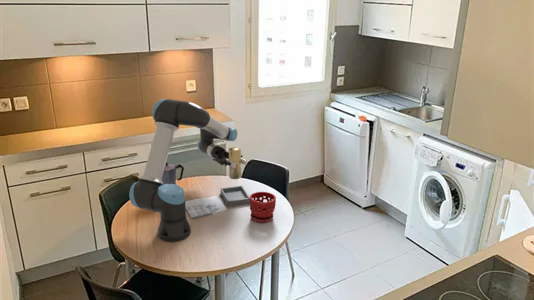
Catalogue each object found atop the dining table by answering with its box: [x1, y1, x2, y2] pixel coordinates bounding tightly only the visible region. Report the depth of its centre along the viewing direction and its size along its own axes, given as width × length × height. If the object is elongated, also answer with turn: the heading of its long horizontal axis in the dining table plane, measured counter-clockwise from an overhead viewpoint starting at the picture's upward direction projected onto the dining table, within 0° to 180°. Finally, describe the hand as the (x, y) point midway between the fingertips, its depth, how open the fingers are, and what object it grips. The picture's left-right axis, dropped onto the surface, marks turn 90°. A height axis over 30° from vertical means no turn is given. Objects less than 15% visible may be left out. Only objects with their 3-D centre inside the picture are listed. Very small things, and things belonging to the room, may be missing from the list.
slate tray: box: [220, 185, 250, 207], centre depth 233 cm, size 17×13×3 cm
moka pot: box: [161, 162, 185, 185], centre depth 232 cm, size 10×15×20 cm, turn 115°
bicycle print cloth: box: [185, 195, 228, 219], centre depth 223 cm, size 19×20×2 cm
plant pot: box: [248, 191, 277, 223], centre depth 212 cm, size 13×13×12 cm
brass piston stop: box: [228, 146, 242, 180], centre depth 226 cm, size 6×6×16 cm
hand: (240, 164), depth 222 cm, fingers closed on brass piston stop, 6 cm apart
